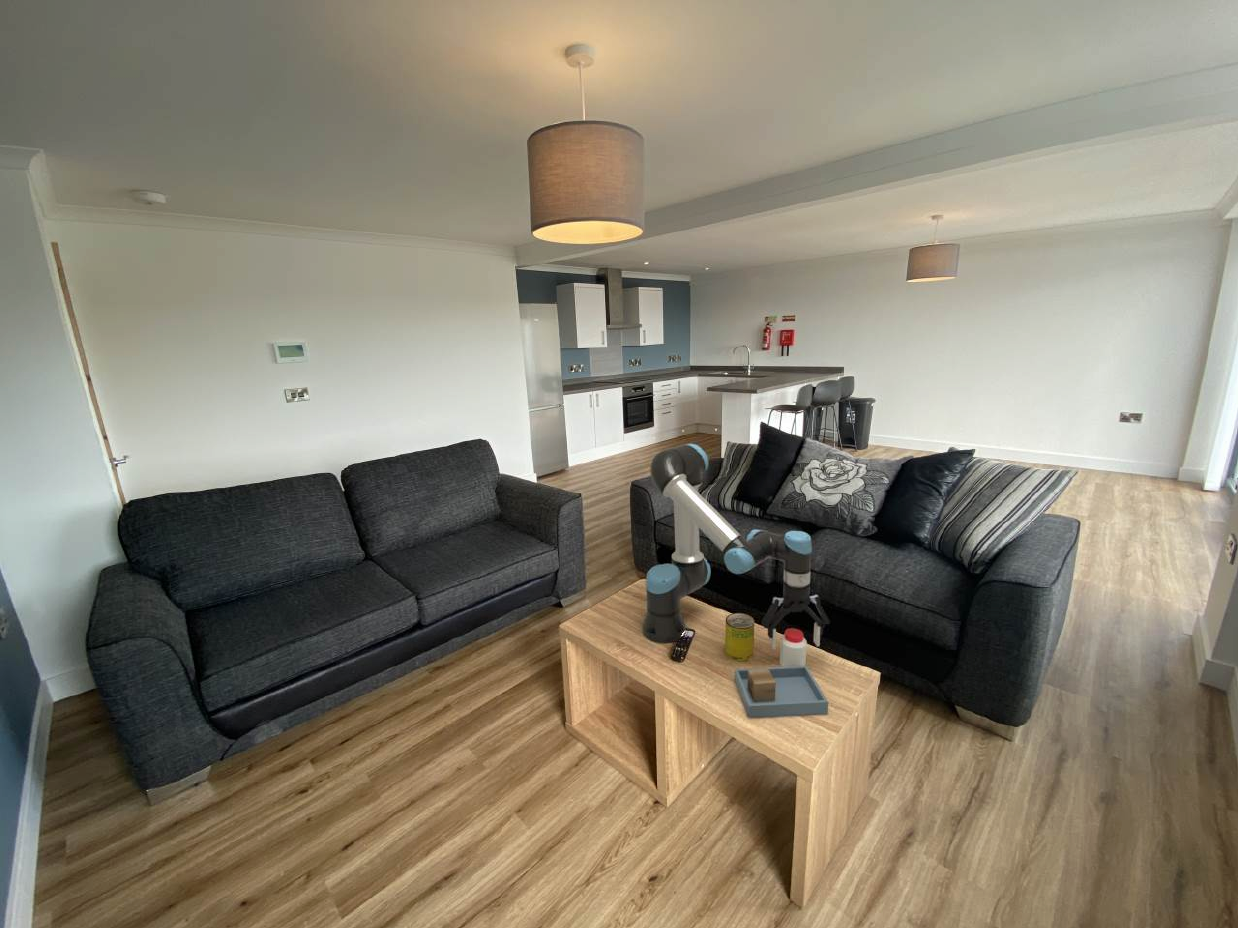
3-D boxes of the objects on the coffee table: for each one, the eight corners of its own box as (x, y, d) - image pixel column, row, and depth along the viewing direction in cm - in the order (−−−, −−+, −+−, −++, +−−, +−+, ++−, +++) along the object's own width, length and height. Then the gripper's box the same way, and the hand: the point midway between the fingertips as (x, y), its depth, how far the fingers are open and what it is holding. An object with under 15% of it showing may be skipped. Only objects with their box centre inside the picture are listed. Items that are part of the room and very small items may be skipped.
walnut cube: (747, 688, 149) (748, 670, 147) (767, 686, 149) (768, 668, 147) (753, 702, 143) (754, 683, 141) (775, 700, 143) (775, 682, 142)
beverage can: (759, 657, 164) (760, 623, 161) (735, 664, 161) (736, 630, 158) (742, 642, 172) (743, 610, 169) (719, 649, 169) (720, 617, 166)
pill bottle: (776, 656, 164) (778, 626, 161) (801, 656, 163) (802, 626, 161) (783, 672, 156) (784, 640, 153) (809, 671, 156) (810, 640, 153)
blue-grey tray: (734, 680, 153) (734, 669, 152) (805, 676, 154) (806, 665, 153) (748, 717, 138) (749, 705, 137) (827, 713, 139) (828, 701, 138)
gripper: (759, 590, 149) (758, 654, 154) (843, 585, 149) (840, 649, 154) (751, 579, 156) (751, 640, 161) (832, 574, 157) (829, 635, 161)
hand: (794, 645), depth 158 cm, fingers open, 13 cm apart
